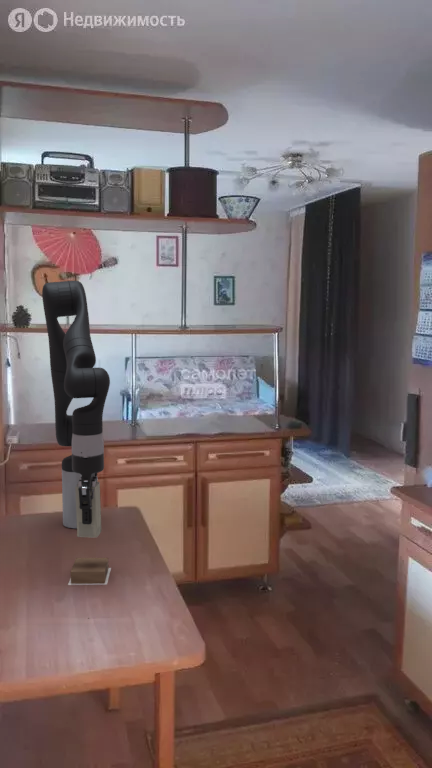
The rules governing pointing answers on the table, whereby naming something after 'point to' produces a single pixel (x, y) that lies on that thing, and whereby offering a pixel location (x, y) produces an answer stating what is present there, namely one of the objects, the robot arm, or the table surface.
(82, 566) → the base block
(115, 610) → the table surface
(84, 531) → the box
